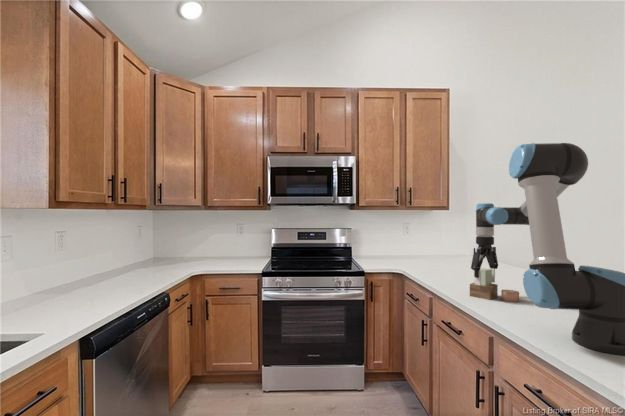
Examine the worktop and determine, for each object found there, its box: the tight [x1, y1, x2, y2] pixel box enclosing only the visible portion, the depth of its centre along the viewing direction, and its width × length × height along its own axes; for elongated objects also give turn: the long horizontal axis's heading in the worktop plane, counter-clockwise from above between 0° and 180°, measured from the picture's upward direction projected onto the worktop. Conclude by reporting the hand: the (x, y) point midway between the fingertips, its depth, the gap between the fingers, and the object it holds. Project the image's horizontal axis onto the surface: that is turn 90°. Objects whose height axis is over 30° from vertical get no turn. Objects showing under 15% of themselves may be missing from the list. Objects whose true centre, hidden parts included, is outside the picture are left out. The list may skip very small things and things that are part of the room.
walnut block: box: [469, 281, 499, 301], centre depth 158 cm, size 9×9×6 cm
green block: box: [479, 267, 493, 286], centre depth 159 cm, size 5×5×7 cm
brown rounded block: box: [500, 289, 520, 303], centre depth 152 cm, size 7×7×4 cm
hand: (484, 283), depth 158 cm, fingers open, 10 cm apart
